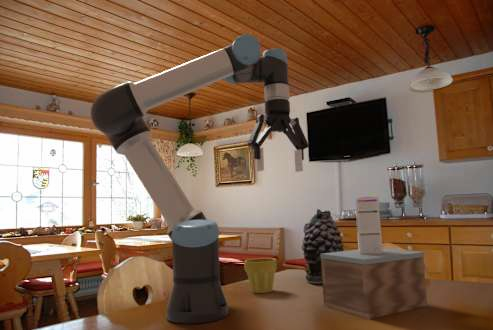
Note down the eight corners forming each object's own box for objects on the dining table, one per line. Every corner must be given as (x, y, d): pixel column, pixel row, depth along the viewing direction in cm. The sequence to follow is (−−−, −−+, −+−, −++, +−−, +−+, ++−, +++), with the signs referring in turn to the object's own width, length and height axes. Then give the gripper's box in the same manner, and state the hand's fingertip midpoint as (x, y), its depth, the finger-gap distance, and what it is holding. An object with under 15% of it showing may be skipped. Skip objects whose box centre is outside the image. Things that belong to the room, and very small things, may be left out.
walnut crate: (369, 319, 92) (365, 265, 93) (323, 305, 106) (321, 259, 107) (427, 306, 102) (423, 257, 103) (379, 295, 115) (376, 252, 117)
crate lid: (365, 264, 93) (365, 259, 93) (320, 258, 107) (320, 253, 107) (424, 256, 103) (424, 252, 103) (376, 251, 117) (376, 247, 117)
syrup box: (383, 254, 102) (379, 196, 103) (359, 254, 103) (355, 197, 104) (380, 251, 107) (376, 196, 109) (357, 251, 108) (354, 197, 110)
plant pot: (240, 294, 125) (239, 261, 126) (251, 287, 135) (250, 257, 136) (273, 295, 122) (271, 261, 123) (281, 288, 131) (280, 257, 132)
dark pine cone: (306, 275, 155) (303, 209, 157) (347, 275, 151) (342, 208, 154) (299, 285, 135) (295, 210, 137) (346, 286, 131) (341, 208, 134)
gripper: (303, 107, 131) (306, 172, 129) (234, 100, 120) (237, 171, 117) (317, 101, 125) (321, 170, 123) (246, 93, 113) (249, 169, 111)
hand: (280, 171), depth 120 cm, fingers open, 13 cm apart
